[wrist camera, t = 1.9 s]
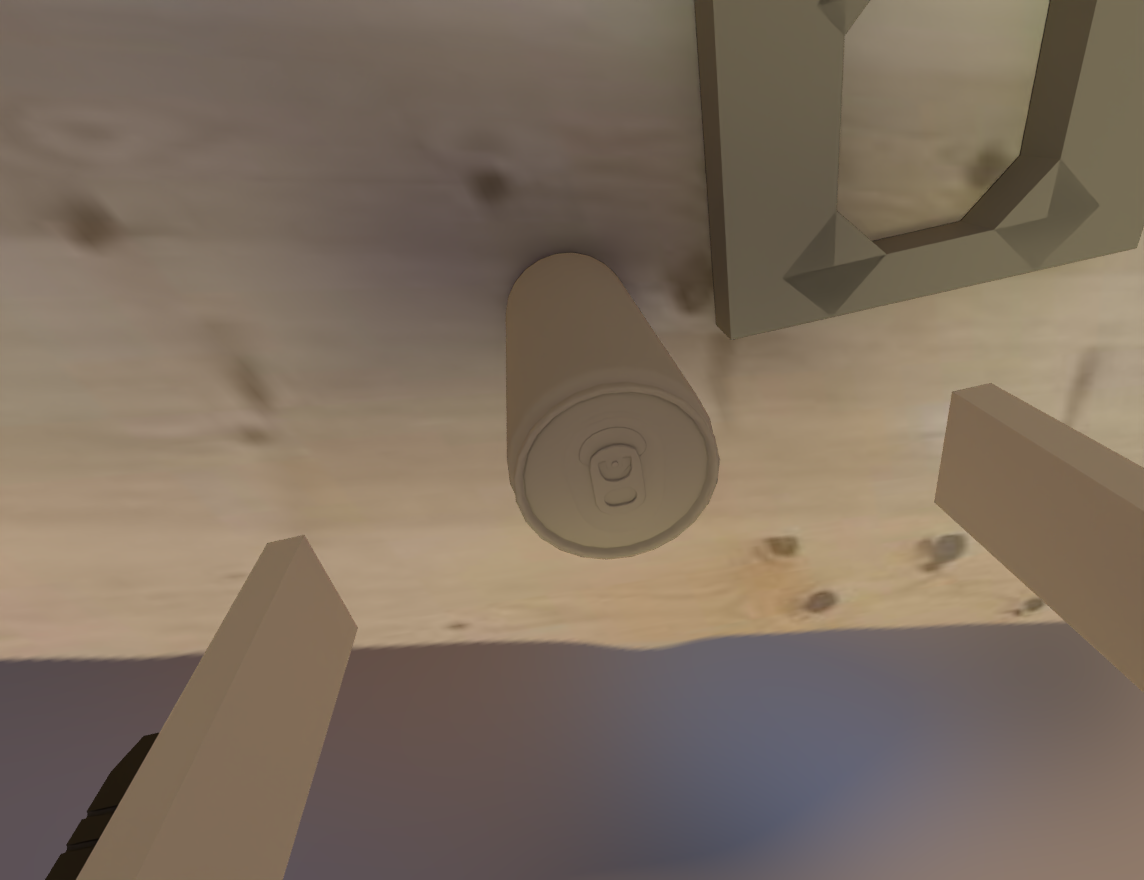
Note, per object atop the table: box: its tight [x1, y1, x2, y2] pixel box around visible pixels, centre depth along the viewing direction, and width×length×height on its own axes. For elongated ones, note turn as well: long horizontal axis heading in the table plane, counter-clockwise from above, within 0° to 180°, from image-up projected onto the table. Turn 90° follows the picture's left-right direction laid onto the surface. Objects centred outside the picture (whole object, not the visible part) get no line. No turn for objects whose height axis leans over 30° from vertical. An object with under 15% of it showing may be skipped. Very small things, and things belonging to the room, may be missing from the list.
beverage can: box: [506, 253, 720, 559], centre depth 17 cm, size 5×5×12 cm
